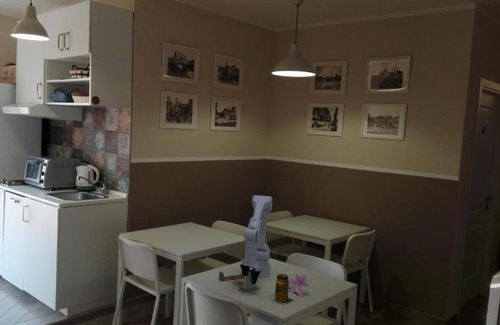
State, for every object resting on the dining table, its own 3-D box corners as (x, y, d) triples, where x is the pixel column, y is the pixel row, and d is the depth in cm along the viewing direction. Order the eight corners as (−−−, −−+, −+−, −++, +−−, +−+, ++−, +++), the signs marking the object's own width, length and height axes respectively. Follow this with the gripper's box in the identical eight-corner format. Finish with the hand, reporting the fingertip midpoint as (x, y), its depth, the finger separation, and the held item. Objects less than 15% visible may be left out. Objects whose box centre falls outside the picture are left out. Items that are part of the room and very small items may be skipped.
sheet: (253, 290, 219) (254, 274, 219) (255, 291, 218) (255, 275, 218) (243, 292, 216) (243, 276, 216) (244, 293, 215) (245, 276, 214)
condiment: (271, 300, 209) (272, 275, 208) (281, 295, 216) (283, 271, 215) (283, 305, 205) (285, 279, 204) (294, 300, 211) (295, 275, 210)
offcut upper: (241, 280, 229) (241, 278, 229) (246, 283, 226) (246, 281, 226) (231, 282, 226) (231, 280, 226) (237, 285, 222) (237, 283, 222)
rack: (241, 277, 238) (241, 267, 238) (254, 286, 226) (255, 275, 226) (217, 281, 231) (217, 270, 231) (229, 290, 219) (230, 279, 219)
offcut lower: (242, 282, 230) (242, 280, 230) (247, 285, 225) (247, 283, 225) (230, 284, 226) (230, 282, 226) (235, 287, 222) (235, 285, 222)
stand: (255, 288, 224) (255, 283, 224) (264, 293, 217) (264, 288, 217) (234, 291, 218) (234, 286, 217) (242, 297, 211) (242, 292, 211)
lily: (283, 290, 225) (281, 277, 220) (302, 279, 230) (300, 265, 225) (297, 306, 216) (296, 292, 211) (317, 293, 221) (316, 280, 216)
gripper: (236, 250, 220) (235, 277, 221) (251, 258, 207) (250, 287, 209) (248, 249, 224) (247, 275, 225) (264, 257, 211) (263, 285, 212)
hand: (249, 281), depth 217 cm, fingers open, 7 cm apart
